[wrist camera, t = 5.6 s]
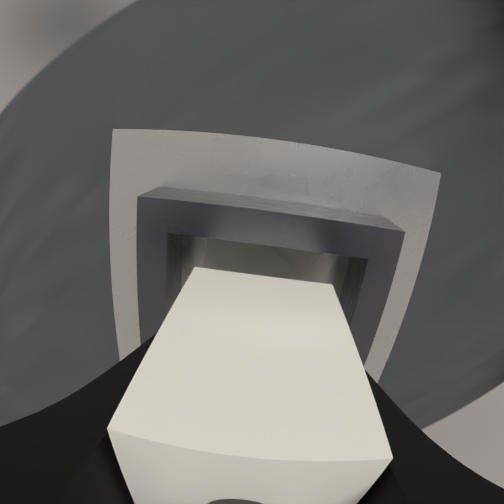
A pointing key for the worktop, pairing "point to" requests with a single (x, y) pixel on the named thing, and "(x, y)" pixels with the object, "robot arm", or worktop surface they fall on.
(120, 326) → the socket plate
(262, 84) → the worktop surface
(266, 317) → the plug
